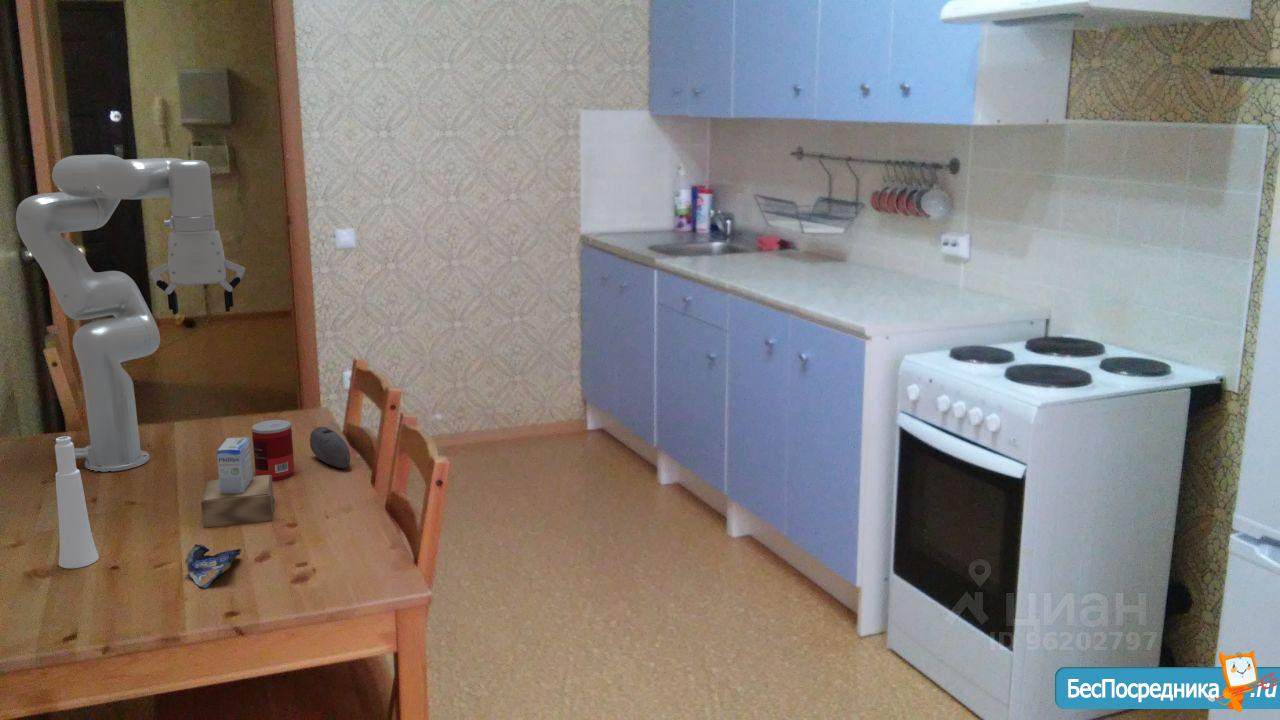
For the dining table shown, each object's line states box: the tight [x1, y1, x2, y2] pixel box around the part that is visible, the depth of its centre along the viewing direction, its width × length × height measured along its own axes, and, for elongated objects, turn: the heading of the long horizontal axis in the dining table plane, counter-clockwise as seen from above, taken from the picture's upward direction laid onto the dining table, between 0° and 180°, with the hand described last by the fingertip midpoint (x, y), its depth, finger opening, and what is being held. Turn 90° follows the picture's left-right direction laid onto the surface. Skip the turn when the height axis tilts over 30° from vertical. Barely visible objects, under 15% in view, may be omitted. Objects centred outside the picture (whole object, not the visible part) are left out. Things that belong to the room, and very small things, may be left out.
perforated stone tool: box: [309, 426, 351, 469], centre depth 230 cm, size 15×5×7 cm, turn 38°
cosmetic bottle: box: [54, 436, 99, 570], centre depth 178 cm, size 6×6×22 cm
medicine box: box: [216, 437, 254, 494], centre depth 201 cm, size 8×4×9 cm, turn 8°
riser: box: [200, 475, 275, 529], centre depth 202 cm, size 12×12×5 cm
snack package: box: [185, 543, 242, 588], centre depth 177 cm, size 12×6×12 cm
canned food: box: [251, 419, 295, 482], centre depth 223 cm, size 8×8×11 cm
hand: (202, 311), depth 209 cm, fingers open, 9 cm apart
